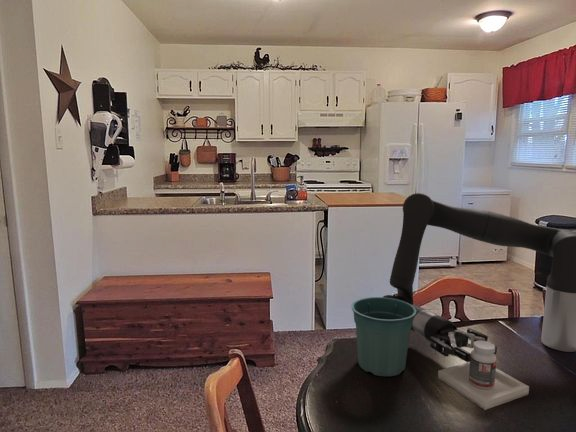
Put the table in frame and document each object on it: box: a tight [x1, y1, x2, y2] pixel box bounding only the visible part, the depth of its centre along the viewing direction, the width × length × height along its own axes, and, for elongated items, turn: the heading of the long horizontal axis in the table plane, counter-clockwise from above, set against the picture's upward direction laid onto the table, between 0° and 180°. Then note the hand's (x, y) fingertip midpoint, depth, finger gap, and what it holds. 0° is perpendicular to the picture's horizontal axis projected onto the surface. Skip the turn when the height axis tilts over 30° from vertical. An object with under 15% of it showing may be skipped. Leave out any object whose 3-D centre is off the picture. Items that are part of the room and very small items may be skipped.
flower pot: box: [350, 296, 416, 377], centre depth 108 cm, size 16×16×16 cm
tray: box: [437, 362, 530, 411], centre depth 99 cm, size 14×14×2 cm
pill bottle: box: [469, 340, 497, 389], centre depth 98 cm, size 6×6×10 cm
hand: (482, 354), depth 98 cm, fingers open, 8 cm apart
